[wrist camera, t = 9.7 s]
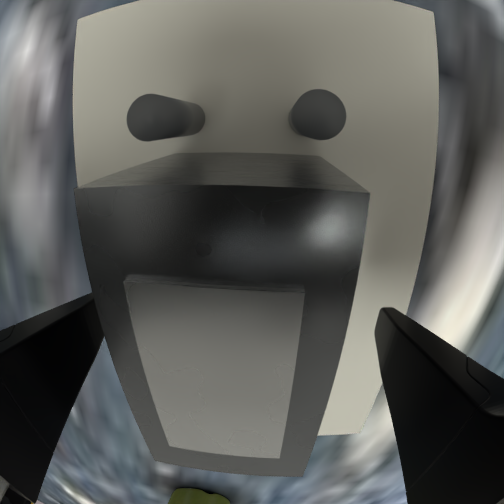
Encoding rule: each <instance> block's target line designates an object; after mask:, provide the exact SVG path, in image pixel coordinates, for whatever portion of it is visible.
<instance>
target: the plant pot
mask: <svg viewBox="0 0 504 504" xmlns="http://www.w3.org/2000/svg"><path fill="white" fill-rule="evenodd" d="M168 504H230V501H229V500H228V499H226V498H225V497H223V496H221V495H219V494H207V493H205V492H203V491H202V490H199V489H193V488H192V489H190V488H179V489H176V490H175V491H174V492H173V493H172V496H171V498H170V500H169V502H168Z"/></svg>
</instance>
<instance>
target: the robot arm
mask: <svg viewBox="0 0 504 504" xmlns="http://www.w3.org/2000/svg"><path fill="white" fill-rule="evenodd" d="M374 336H375V342H376V348H377V354H378V361H379V368H380V374H381V378H382V382H383V386H384V390H385V394H386V398H387V402H388V406H389V410H390V414H391V418H392V423H393V427H394V432H395V436H396V441H397V446H398V450H399V455H400V461H401V466H402V471H403V477H404V483H405V489H406V491H407V492H406V496H407V503H408V504H504V379H503V378H501V377H500V376H498V375H496V374H495V373H493V372H491V371H490V370H488V369H486V368H485V367H483V366H482V365H480V364H479V363H477V362H476V361H474V360H473V359H471V358H470V357H467V355H465V354H464V353H462V352H461V351H459V350H458V349H456V348H455V347H453V346H452V345H450V344H449V343H447V342H446V341H444V340H443V339H441V338H440V337H438V336H437V335H435V334H434V333H432V332H431V331H429V330H428V329H426V328H424V327H423V326H421V325H420V324H418V323H417V322H415V321H414V320H412V319H411V318H409V317H408V316H406V315H404V314H403V313H401V312H400V311H398V310H397V309H395V308H393V307H382V308H381V309H380V311H379V314H378V318H377V322H376V326H375V330H374ZM103 338H104V333H103V329H102V326H101V322H100V319H99V315H98V312H97V308H96V304H95V300H94V296H93V292H92V293H90V294H87V295H85V296H82V297H80V298H77V299H75V300H73V301H70V302H68V303H65V304H63V305H60V306H58V307H56V308H53V309H51V310H48V311H46V312H44V313H41V314H39V315H36V316H34V317H32V318H29V319H27V320H25V321H22V322H20V323H18V324H16V325H13V326H11V327H8V328H6V329H3V330H1V331H0V504H31V502H32V503H34V504H35V503H36V501H37V499H38V495H39V492H40V489H41V486H42V483H43V481H44V478H45V475H46V472H47V469H48V467H49V464H50V461H51V458H52V456H53V452H54V450H55V448H56V445H57V443H58V440H59V438H60V435H61V433H62V430H63V428H64V426H65V423H66V421H67V418H68V416H69V414H70V412H71V409H72V407H73V405H74V402H75V400H76V398H77V396H78V394H79V391H80V389H81V387H82V385H83V383H84V381H85V379H86V376H87V374H88V372H89V370H90V368H91V366H92V364H93V362H94V360H95V358H96V356H97V354H98V351H99V349H100V346H101V343H102V341H103Z"/></svg>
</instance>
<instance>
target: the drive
mask: <svg viewBox="0 0 504 504" xmlns="http://www.w3.org/2000/svg"><path fill="white" fill-rule="evenodd" d="M74 193H75V202H76V209H77V216H78V223H79V229H80V235H81V241H82V246H83V251H84V257H85V262H86V266H87V271H88V275H89V280H90V284H91V288H92V292H93V296H94V300H95V304H96V308H97V312H98V315H99V319H100V322H101V326H102V329H103V333H104V336H105V339H106V342H107V345H108V348H109V352H110V355H111V358H112V360H113V363H114V366H115V369H116V372H117V375H118V377H119V380H120V383H121V385H122V388H123V391H124V393H125V396H126V398H127V401H128V403H129V406H130V408H131V410H132V413H133V415H134V417H135V420H136V422H137V424H138V426H139V429H140V431H141V433H142V435H143V437H144V439H145V442H146V444H147V446H148V448H149V450H150V452H151V454H152V456H153V458H154V460H155V461H159V462H164V463H168V464H173V465H178V466H184V467H189V468H195V469H202V470H209V471H216V472H224V473H234V474H244V475H258V476H284V477H302V476H303V474H304V471H305V469H306V466H307V463H308V461H309V458H310V455H311V452H312V449H313V447H314V444H315V441H316V438H317V435H318V432H319V429H320V426H321V423H322V420H323V417H324V413H325V410H326V407H327V404H328V400H329V397H330V394H331V390H332V387H333V383H334V380H335V376H336V372H337V368H338V365H339V361H340V357H341V353H342V349H343V345H344V341H345V337H346V332H347V328H348V324H349V319H350V315H351V310H352V305H353V300H354V295H355V290H356V285H357V280H358V274H359V268H360V263H361V257H362V251H363V244H364V238H365V231H366V223H367V216H368V208H369V200H370V192H368V191H367V190H366V189H364V188H363V187H362V186H361V185H359V184H358V183H357V182H355V181H354V180H353V179H351V178H350V177H348V176H347V175H346V174H344V173H343V172H342V171H340V170H339V169H337V168H336V167H335V166H333V165H332V164H330V163H329V162H328V161H326V160H325V159H323V158H322V157H320V156H312V155H296V154H275V153H228V152H218V153H175V154H172V155H168V156H165V157H162V158H159V159H155V160H152V161H149V162H146V163H143V164H140V165H137V166H134V167H131V168H128V169H125V170H122V171H119V172H116V173H114V174H111V175H108V176H105V177H103V178H100V179H97V180H95V181H92V182H89V183H87V184H84V185H82V186H79V187H77V188H74Z"/></svg>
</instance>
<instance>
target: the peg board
mask: <svg viewBox="0 0 504 504" xmlns="http://www.w3.org/2000/svg"><path fill="white" fill-rule="evenodd" d="M438 118H439V74H438V54H437V41H436V30H435V21H434V13H433V12H432V11H428V10H425V9H422V8H419V7H415V6H412V5H408V4H405V3H401V2H397V1H393V0H140V1H136V2H132V3H128V4H124V5H121V6H117V7H114V8H110V9H107V10H104V11H101V12H98V13H95V14H92V15H89V16H86V17H83V18H80V19H78V23H77V32H76V42H75V54H74V71H73V132H74V150H75V164H76V175H77V184H78V187H79V186H82V185H84V184H87V183H89V182H92V181H95V180H97V179H100V178H103V177H105V176H108V175H111V174H114V173H116V172H119V171H122V170H125V169H128V168H131V167H134V166H137V165H140V164H143V163H146V162H149V161H152V160H155V159H159V158H162V157H165V156H168V155H172V154H175V153H218V152H228V153H275V154H296V155H312V156H320V157H322V158H323V159H325V160H326V161H328V162H329V163H330V164H332V165H333V166H335V167H336V168H337V169H339V170H340V171H342V172H343V173H344V174H346V175H347V176H348V177H350V178H351V179H353V180H354V181H355V182H357V183H358V184H359V185H361V186H362V187H363V188H364V189H366V190H367V191H368V192H370V200H369V208H368V216H367V223H366V231H365V238H364V244H363V251H362V257H361V263H360V268H359V274H358V280H357V285H356V290H355V295H354V300H353V305H352V310H351V315H350V319H349V324H348V328H347V332H346V337H345V341H344V345H343V349H342V353H341V357H340V361H339V365H338V368H337V372H336V376H335V380H334V383H333V387H332V390H331V394H330V397H329V400H328V404H327V407H326V410H325V413H324V417H323V420H322V423H321V426H320V429H319V432H318V435H340V434H355V433H360V432H361V430H362V428H363V426H364V424H365V422H366V419H367V417H368V415H369V413H370V411H371V408H372V406H373V404H374V401H375V399H376V397H377V394H378V392H379V390H380V387H381V385H382V378H381V374H380V368H379V361H378V354H377V348H376V342H375V336H374V330H375V326H376V322H377V318H378V314H379V311H380V309H381V308H382V307H393V308H395V309H397V310H398V311H400V312H401V313H403V314H404V315H406V313H407V309H408V306H409V302H410V299H411V295H412V291H413V288H414V284H415V280H416V276H417V272H418V267H419V263H420V259H421V254H422V249H423V244H424V239H425V234H426V229H427V223H428V217H429V211H430V205H431V198H432V191H433V183H434V174H435V164H436V153H437V139H438Z"/></svg>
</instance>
